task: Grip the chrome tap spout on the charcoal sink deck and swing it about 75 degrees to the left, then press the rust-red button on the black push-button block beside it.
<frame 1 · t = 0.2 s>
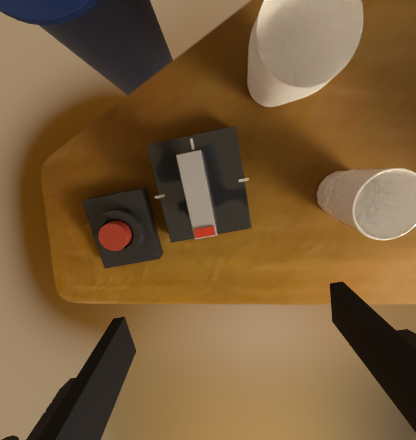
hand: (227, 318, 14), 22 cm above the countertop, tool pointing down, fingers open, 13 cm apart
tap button: (127, 226, 35), on the countertop
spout: (199, 192, 27), point 7 cm above the countertop, hinge at 0.0°
button: (115, 235, 31), point 4 cm above the countertop, slide at 0.1 cm
sink deck: (202, 186, 34), on the countertop
white cup: (337, 193, 34), on the countertop
cup: (271, 81, 30), on the countertop
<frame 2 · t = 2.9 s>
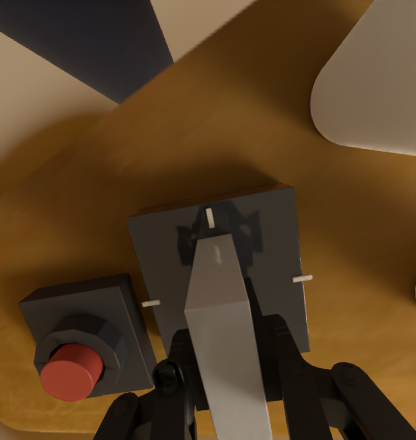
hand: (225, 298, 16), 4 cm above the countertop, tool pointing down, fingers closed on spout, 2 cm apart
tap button: (100, 330, 22), on the countertop
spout: (228, 329, 13), point 7 cm above the countertop, hinge at -0.1°, touching gripper
button: (73, 371, 18), point 4 cm above the countertop, slide at 0.1 cm
sink deck: (223, 271, 20), on the countertop
cup: (353, 99, 17), on the countertop
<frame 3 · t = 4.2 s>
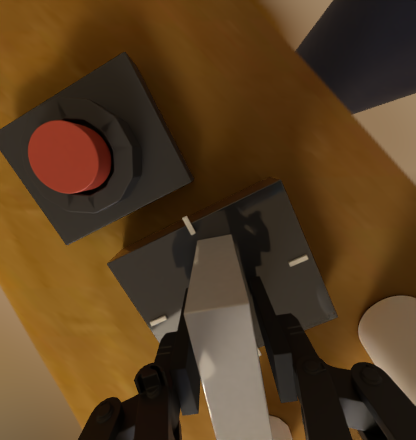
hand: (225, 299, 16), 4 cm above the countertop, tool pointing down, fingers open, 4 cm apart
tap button: (106, 159, 18), on the countertop
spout: (229, 331, 13), point 7 cm above the countertop, hinge at 74.5°
button: (72, 158, 13), point 4 cm above the countertop, slide at 0.1 cm
sink deck: (223, 272, 20), on the countertop
white cup: (259, 433, 25), on the countertop
cup: (391, 323, 21), on the countertop
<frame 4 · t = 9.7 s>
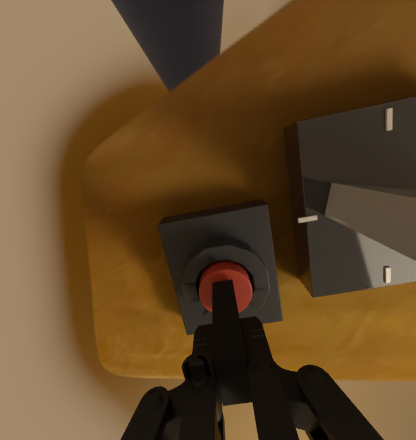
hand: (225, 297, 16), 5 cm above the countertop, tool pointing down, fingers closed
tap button: (222, 264, 21), on the countertop
button: (225, 287, 17), point 4 cm above the countertop, slide at -0.4 cm, touching gripper
sink deck: (361, 197, 19), on the countertop
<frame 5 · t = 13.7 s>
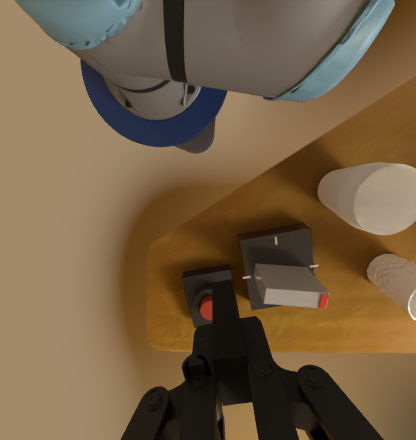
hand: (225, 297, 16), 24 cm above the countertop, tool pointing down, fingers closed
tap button: (211, 293, 44), on the countertop
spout: (287, 283, 35), point 7 cm above the countertop, hinge at 74.5°
button: (211, 307, 40), point 4 cm above the countertop, slide at 0.1 cm
sink deck: (275, 263, 42), on the countertop
white cup: (383, 269, 42), on the countertop
cup: (335, 189, 38), on the countertop
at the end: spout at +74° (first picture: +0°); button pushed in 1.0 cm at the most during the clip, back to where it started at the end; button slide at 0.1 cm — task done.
